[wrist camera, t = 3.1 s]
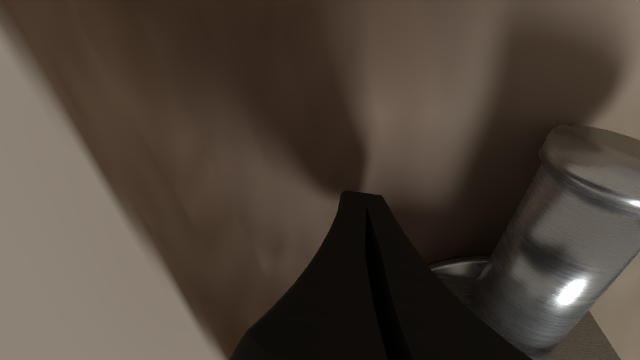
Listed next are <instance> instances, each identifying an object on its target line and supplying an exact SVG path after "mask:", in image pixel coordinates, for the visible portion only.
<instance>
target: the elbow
mask: <svg viewBox="0 0 640 360" xmlns="http://www.w3.org/2000/svg"><path fill="white" fill-rule="evenodd" d="M539 157H540V160H541V162H542V164H541V165H540V167H539V169H538V171H537V173H536V175H535V176H534V178H533V180H532V182H531V184H530V186H529V187H528V189H527V191H526V193H525V195H524V196H523V198H522V200H521V202H520V204H519V206H518V207H517V209H516V211H515V213H514V215H513V217H512V218H511V220H510V222H509V224H508V226H507V228H506V229H505V231H504V233H503V235H502V237H501V239H500V240H499V242H498V244H497V246H496V248H495V250H494V251H493V253H492V255H491V257H490V259H489V260H488V262H487V264H486V266H485V268H484V270H483V271H482V273H481V275H480V277H479V279H475V278H467V277H460V276H452V275H444V274H436V273H435V274H436V276H437V277H438V278H439V279H440V280H441V281H442V282H443V283H444V285H445V286H446V287H447V288H448V289H449V290H450V291H451V292H452V293H453V294H454V295H455V296H456V297H457V298H458V299H459V300H460V301H461V302H463V303H464V304H465V305H466V306H467V307H468V308H469V309H470V310H471V311H472V312H473V313H474V314H475V315H477V316H478V317H479V318H480V319H481V320H482V321H483V322H485V323H486V324H487V325H488V326H489V327H491V328H492V329H493V330H494V331H496V332H497V333H498V334H499V335H500V336H502V337H503V338H504V339H505V340H507V341H508V342H509V343H511V344H512V345H513V346H515V347H516V348H518V349H519V350H520V351H522V352H523V353H524V354H526V355H527V356H528V357H530V358H531V359H533V360H621V359H620V358H619V356H618V355H617V353H616V352H615V350H614V349H613V347H612V346H611V344H610V342H609V341H608V339H607V338H606V336H605V335H604V333H603V332H602V330H601V329H600V327H599V326H598V324H597V322H596V321H595V319H594V318H593V316H592V315H591V313H590V312H589V309H590V308H591V307H592V306H593V304H594V303H595V302H596V301H597V300H598V299H599V298H600V296H601V295H602V294H603V293H604V292H605V291H606V289H607V288H608V287H609V286H610V285H611V284H612V283H613V281H614V280H615V279H616V278H617V277H618V276H619V275H620V273H621V272H622V271H623V270H624V269H625V268H626V266H627V265H628V264H629V263H630V262H631V261H632V260H633V258H634V257H635V256H636V255H637V254H638V253H639V251H640V140H637V139H634V138H631V137H629V136H625V135H622V134H619V133H615V132H612V131H608V130H604V129H599V128H594V127H588V126H581V125H561V126H557V127H554V128H552V129H551V130H550V132H549V134H548V136H547V138H546V140H545V141H544V143H543V145H542V147H541V149H540V151H539Z"/></svg>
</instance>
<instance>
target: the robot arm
mask: <svg viewBox="0 0 640 360" xmlns="http://www.w3.org/2000/svg"><path fill="white" fill-rule="evenodd" d="M230 360H533V359H531V358H530V357H528V356H527V355H526V354H524V353H523V352H522V351H520V350H519V349H518V348H516V347H515V346H513V345H512V344H511V343H509V342H508V341H507V340H505V339H504V338H503V337H502V336H500V335H499V334H498V333H497V332H496V331H494V330H493V329H492V328H491V327H489V326H488V325H487V324H486V323H485V322H483V321H482V320H481V319H480V318H479V317H478V316H477V315H475V314H474V313H473V312H472V311H471V310H470V309H469V308H468V307H467V306H466V305H465V304H464V303H463V302H461V301H460V300H459V299H458V298H457V297H456V296H455V295H454V294H453V293H452V292H451V291H450V290H449V289H448V288H447V287H446V286H445V285H444V283H443V282H442V281H441V280H440V279H439V278H438V277H437V276H436V274H435V273H434V272H433V271H432V270H431V269H430V268H429V266H428V265H427V264H426V263H425V261H424V260H423V259H422V257H421V256H420V255H419V253H418V252H417V251H416V249H415V248H414V247H413V245H412V244H411V242H410V241H409V239H408V238H407V236H406V235H405V233H404V232H403V230H402V229H401V227H400V226H399V224H398V222H397V221H396V219H395V217H394V216H393V214H392V212H391V211H390V209H389V207H388V205H387V203H386V202H385V200H384V198H383V197H382V195H375V194H367V193H360V192H352V191H343V192H342V193H341V196H340V201H339V206H338V212H337V214H336V217H335V219H334V221H333V224H332V226H331V228H330V230H329V232H328V234H327V236H326V238H325V239H324V241H323V243H322V245H321V247H320V248H319V250H318V252H317V253H316V255H315V256H314V258H313V259H312V261H311V262H310V264H309V265H308V266H307V268H306V269H305V270H304V272H303V273H302V274H301V276H300V277H299V278H298V279H297V281H296V282H295V283H294V284H293V285H292V287H291V288H290V289H289V290H288V291H287V292H286V293H285V294H284V295H283V296H282V298H281V299H280V300H279V301H278V302H277V303H276V304H275V305H274V306H273V307H272V308H271V309H270V310H269V311H268V312H267V313H266V314H265V315H264V316H263V317H262V318H260V319H259V320H258V321H257V322H256V323H255V324H254V325H253V326H252V327H251V328H249V329H248V330H247V331H246V333H245V335H244V336H243V338H242V339H241V341H240V343H239V344H238V346H237V348H236V349H235V351H234V353H233V355H232V356H231V358H230Z"/></svg>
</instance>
